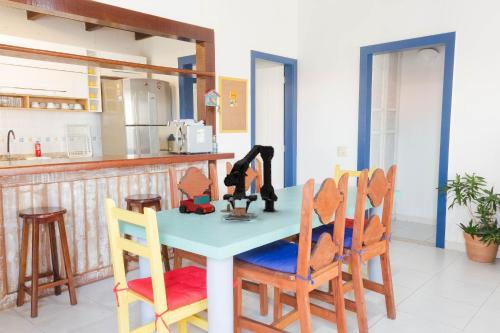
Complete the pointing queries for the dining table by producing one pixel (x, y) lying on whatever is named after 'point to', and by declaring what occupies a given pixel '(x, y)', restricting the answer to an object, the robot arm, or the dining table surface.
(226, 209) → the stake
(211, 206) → the toy truck
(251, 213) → the tray
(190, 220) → the dining table surface
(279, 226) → the dining table surface
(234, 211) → the ring
